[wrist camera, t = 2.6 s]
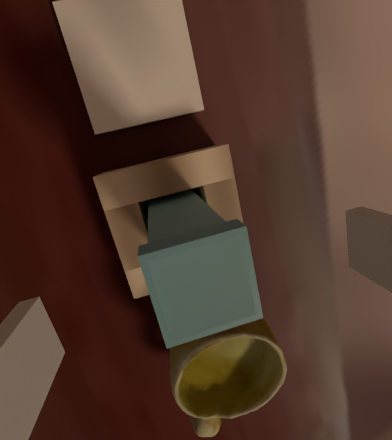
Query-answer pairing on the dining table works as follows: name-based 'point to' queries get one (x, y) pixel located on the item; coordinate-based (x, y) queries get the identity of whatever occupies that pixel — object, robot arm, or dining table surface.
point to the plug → (197, 269)
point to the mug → (226, 374)
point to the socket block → (160, 186)
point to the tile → (130, 60)
